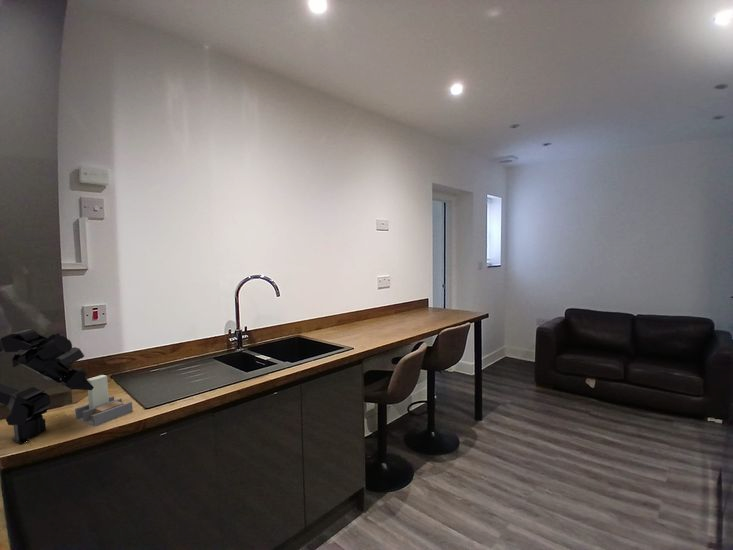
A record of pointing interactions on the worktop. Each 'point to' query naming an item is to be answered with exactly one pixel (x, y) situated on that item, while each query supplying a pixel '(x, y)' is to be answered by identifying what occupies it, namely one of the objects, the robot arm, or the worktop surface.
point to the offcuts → (106, 408)
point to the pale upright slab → (98, 391)
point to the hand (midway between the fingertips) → (86, 386)
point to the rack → (105, 416)
